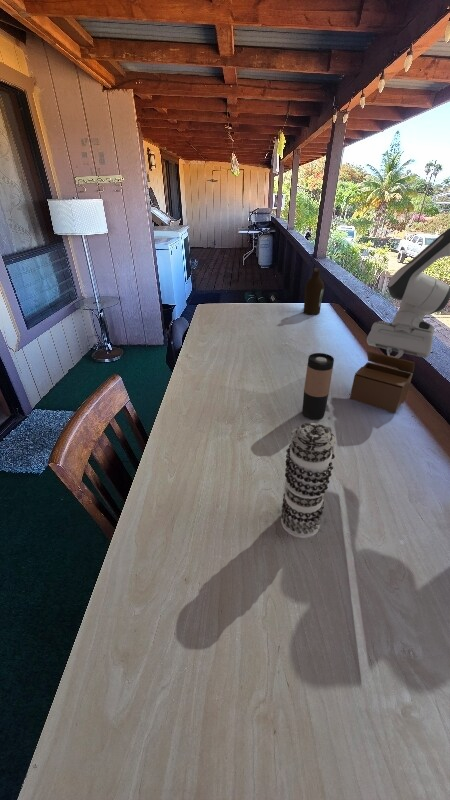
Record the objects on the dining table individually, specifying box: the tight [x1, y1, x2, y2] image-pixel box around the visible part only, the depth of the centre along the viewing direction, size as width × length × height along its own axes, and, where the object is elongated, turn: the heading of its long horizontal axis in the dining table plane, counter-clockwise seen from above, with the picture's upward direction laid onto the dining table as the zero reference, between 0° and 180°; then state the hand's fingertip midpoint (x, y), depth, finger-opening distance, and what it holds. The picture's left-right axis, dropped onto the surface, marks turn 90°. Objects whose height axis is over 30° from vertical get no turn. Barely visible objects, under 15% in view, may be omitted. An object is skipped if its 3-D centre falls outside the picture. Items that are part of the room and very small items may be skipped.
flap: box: [366, 350, 415, 373], centre depth 117 cm, size 15×6×1 cm
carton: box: [349, 361, 414, 414], centre depth 118 cm, size 15×13×11 cm
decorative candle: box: [280, 422, 337, 539], centre depth 71 cm, size 9×9×25 cm
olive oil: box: [303, 267, 325, 316], centre depth 202 cm, size 11×11×25 cm
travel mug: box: [301, 352, 335, 421], centre depth 109 cm, size 8×8×20 cm
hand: (390, 361), depth 118 cm, fingers closed, pressing on flap
